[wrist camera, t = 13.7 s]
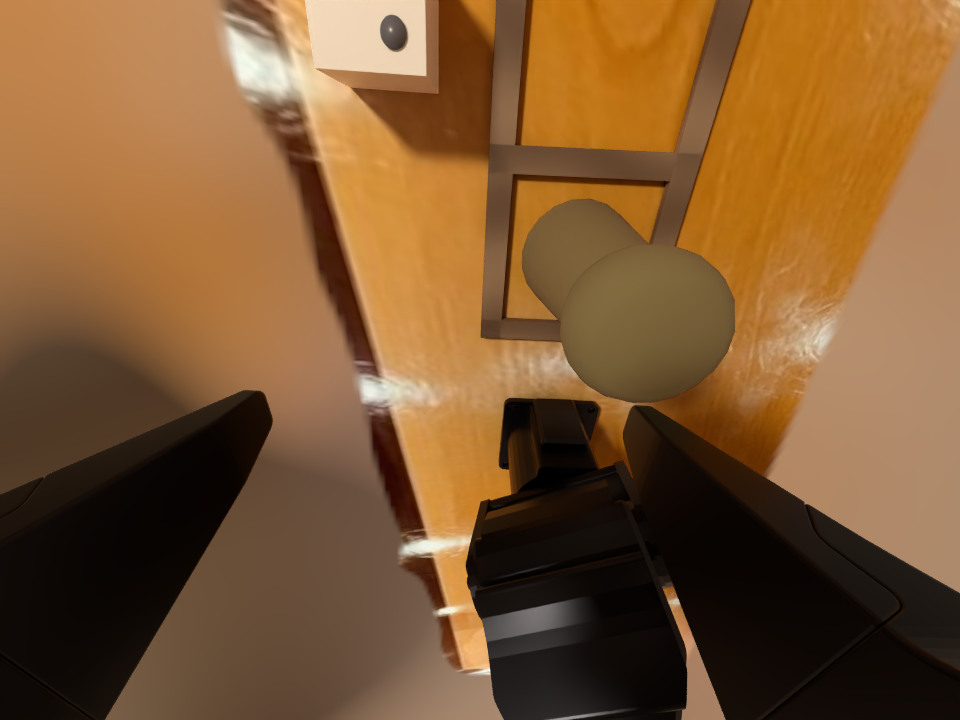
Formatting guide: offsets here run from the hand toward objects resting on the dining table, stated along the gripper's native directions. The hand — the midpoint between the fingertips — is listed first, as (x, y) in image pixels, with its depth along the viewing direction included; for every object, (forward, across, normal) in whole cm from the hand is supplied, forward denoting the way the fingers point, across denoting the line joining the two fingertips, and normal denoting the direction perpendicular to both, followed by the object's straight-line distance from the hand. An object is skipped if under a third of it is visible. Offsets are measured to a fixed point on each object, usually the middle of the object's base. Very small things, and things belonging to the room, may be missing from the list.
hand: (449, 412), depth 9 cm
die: (+13, +4, -10) cm, 17 cm away
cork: (+13, -6, -1) cm, 15 cm away
